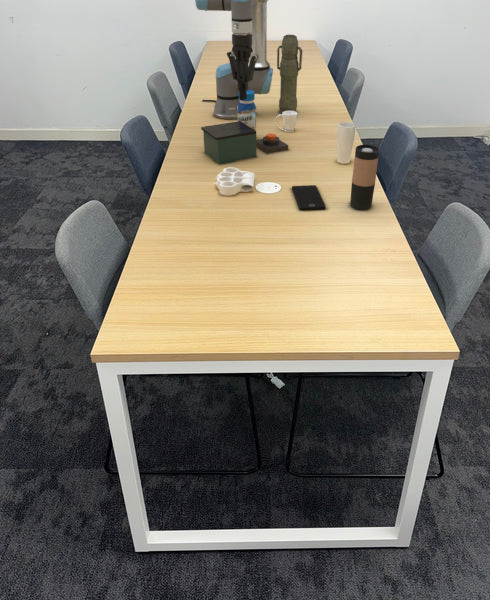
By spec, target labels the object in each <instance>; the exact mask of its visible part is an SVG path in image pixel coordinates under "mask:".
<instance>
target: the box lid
mask: <svg viewBox="0 0 490 600" xmlns="http://www.w3.org/2000/svg"><path fill="white" fill-rule="evenodd" d="M200 130H201V131H202V132H203V131H204V132H206V133H207V134H208V135H210V136H211V137H212V138H214V139H215V140H220V139H226V138H232V137H238V136H244V135H250V134H256V135H257V130H256V131H255V130H254V129H252V128H250V127H249V126H247V125H246V124H244V123H242V122H241V121H238V120H237V121H231V122H230V121H229V122H225V123H219V124H218V123H217V124H212V125H206V126H201V127H200Z"/></svg>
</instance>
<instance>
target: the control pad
mask: <svg viewBox="0 0 490 600" xmlns="http://www.w3.org/2000/svg"><path fill="white" fill-rule="evenodd" d="M256 148H258V149H259V150H260V151H262V152H263V153H265V154H266V155H268V154H275V153H280V152H285V151H289V144H287V143H286V142H284V141H282V140H281V139H280V137H279V136H277V135H276V140H267V139H266V135H265V136H263V137H262V138H259V139H256Z"/></svg>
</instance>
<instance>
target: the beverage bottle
mask: <svg viewBox="0 0 490 600" xmlns="http://www.w3.org/2000/svg"><path fill="white" fill-rule="evenodd" d="M255 95H256V94H255V93H254V91H252V90H248V91H246V97H247V99H245V100H240V98H239V100H240V102H239V104H238V106H237V110H238V112H237V118H238V119H237V121H241V122H242V123H244V124H246V125H247V126H249V127H250V128H252V129H254V130H255V131H256V132H257V117H258V116H257V115H258V113H257V106H256V103H255V97H256V96H255Z"/></svg>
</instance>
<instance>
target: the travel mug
mask: <svg viewBox="0 0 490 600" xmlns="http://www.w3.org/2000/svg"><path fill="white" fill-rule="evenodd" d="M379 155H380V148H379V147H378V146H376V145H373V144H359V145H356V147H355V151H354V160H353V167H352V168H353V169H352V176H351V177H352V178H351V189H350V202H349V203H350V204H349V206H350V207H351V209H353V210H357V211H368V210H370V209H371V208H372V204H373V198H374V192H375V187H376V180H377V179H376V178H377V171H378V163H379Z"/></svg>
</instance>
